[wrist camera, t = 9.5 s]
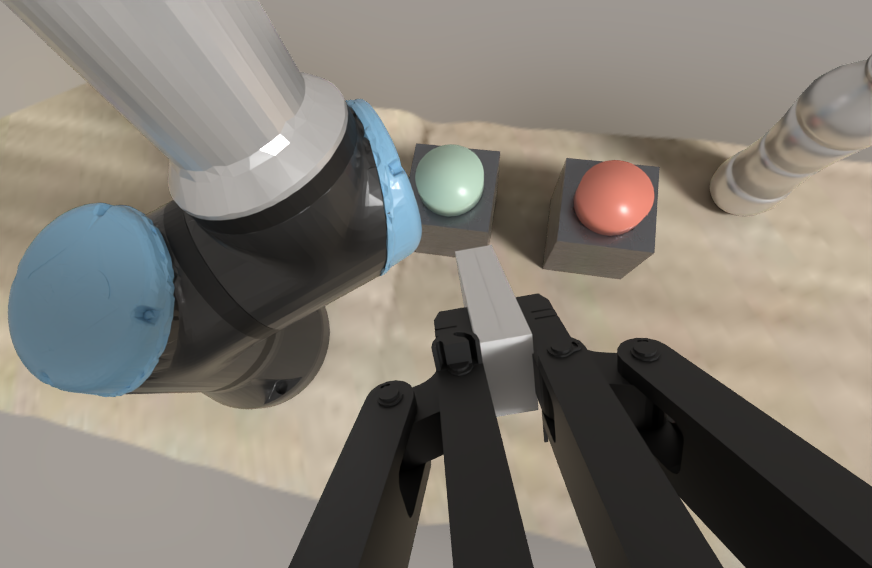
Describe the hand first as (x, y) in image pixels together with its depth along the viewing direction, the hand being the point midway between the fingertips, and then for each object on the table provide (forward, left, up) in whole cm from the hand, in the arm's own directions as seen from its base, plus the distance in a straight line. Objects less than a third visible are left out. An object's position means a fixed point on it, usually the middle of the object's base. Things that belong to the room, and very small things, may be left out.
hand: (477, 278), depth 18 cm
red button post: (+10, +13, -27) cm, 32 cm away
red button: (+10, +13, -26) cm, 31 cm away
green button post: (-4, +13, -28) cm, 31 cm away
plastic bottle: (+25, +20, -28) cm, 42 cm away
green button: (-4, +13, -26) cm, 30 cm away
